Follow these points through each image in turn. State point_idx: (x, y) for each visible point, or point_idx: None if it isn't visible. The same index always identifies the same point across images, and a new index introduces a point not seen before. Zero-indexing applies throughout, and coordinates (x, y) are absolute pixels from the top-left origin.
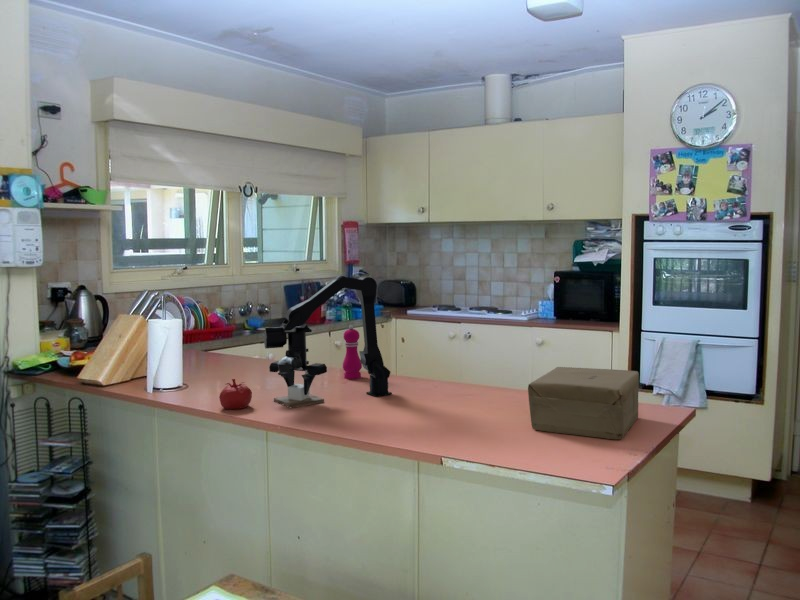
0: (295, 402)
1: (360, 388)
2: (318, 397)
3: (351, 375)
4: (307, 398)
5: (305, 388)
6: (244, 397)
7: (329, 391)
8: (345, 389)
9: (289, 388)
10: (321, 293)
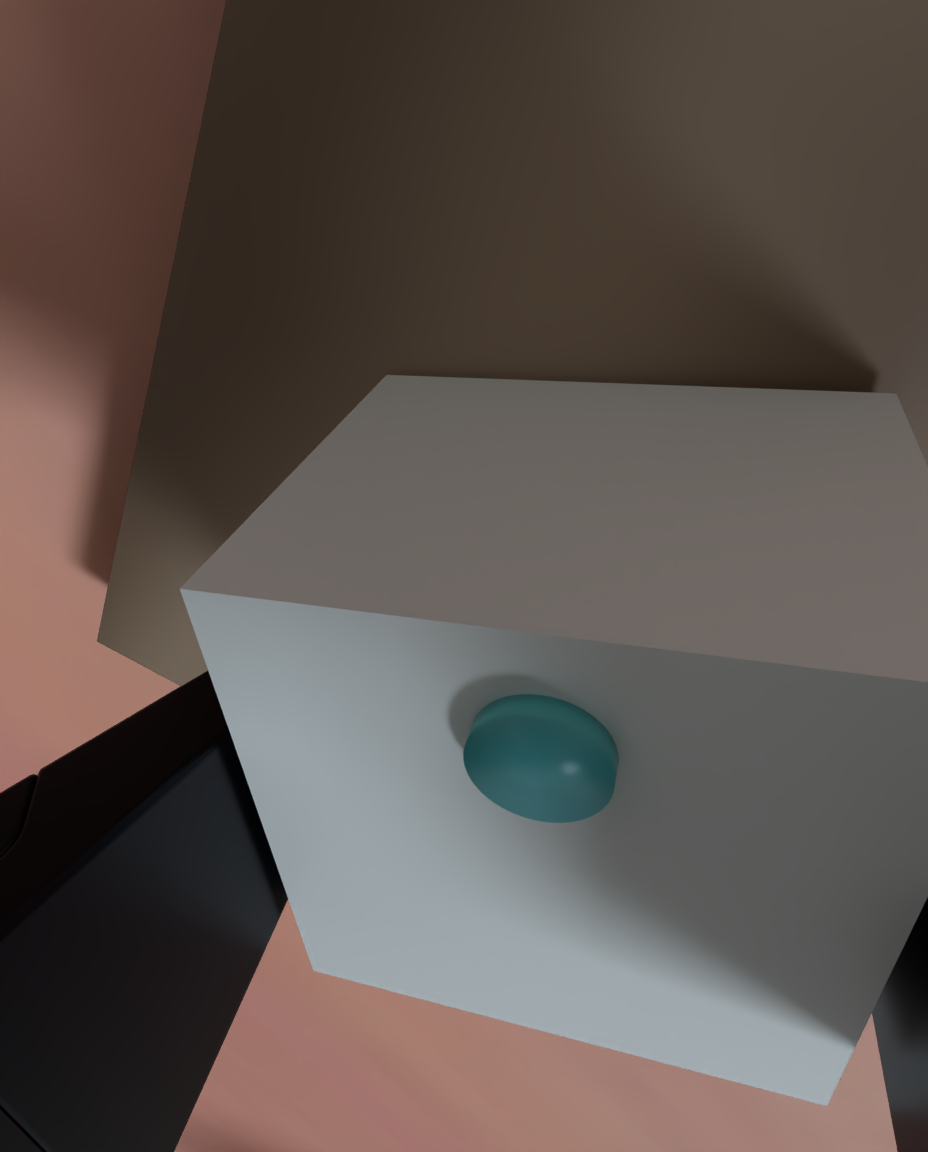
0: (406, 95)
1: (302, 1112)
2: None
3: None
4: None
5: (176, 703)
6: None
7: (521, 1069)
8: (407, 1106)
9: (871, 620)
10: None
